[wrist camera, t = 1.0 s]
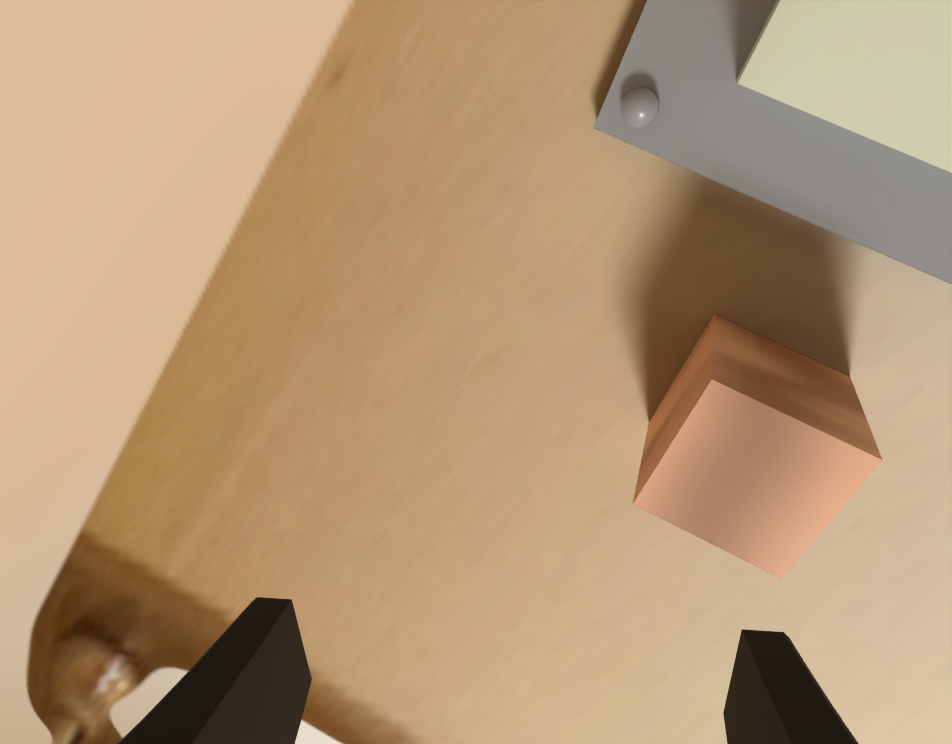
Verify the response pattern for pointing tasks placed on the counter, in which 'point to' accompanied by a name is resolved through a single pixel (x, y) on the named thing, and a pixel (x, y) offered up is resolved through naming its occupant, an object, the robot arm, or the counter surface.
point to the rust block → (754, 447)
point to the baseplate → (769, 135)
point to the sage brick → (863, 69)
